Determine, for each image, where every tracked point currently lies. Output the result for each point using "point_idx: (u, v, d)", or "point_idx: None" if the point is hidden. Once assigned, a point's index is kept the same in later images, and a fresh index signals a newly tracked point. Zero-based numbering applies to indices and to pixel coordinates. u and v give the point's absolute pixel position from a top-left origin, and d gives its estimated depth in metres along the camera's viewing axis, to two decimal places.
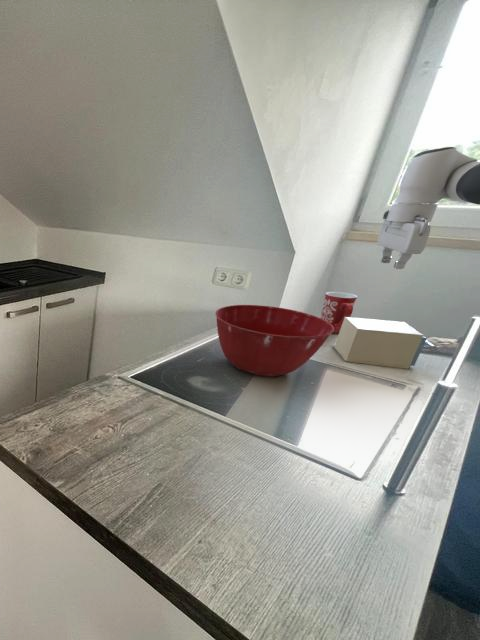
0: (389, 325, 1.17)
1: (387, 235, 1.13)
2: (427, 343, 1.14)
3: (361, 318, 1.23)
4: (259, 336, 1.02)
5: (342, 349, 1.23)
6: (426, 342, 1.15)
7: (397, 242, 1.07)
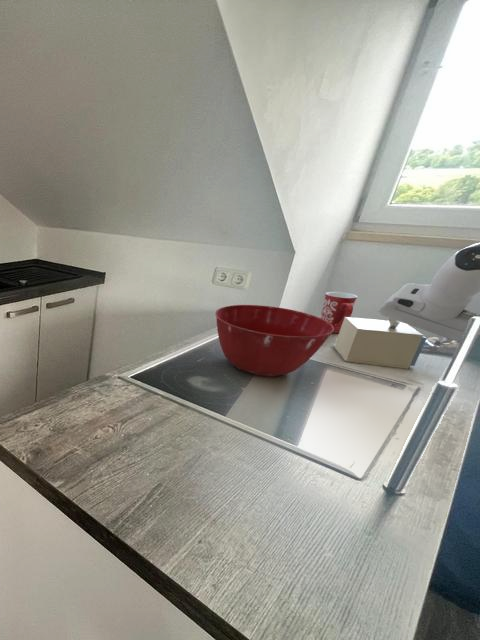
0: (389, 325, 1.17)
1: (406, 314, 1.08)
2: (427, 343, 1.14)
3: (361, 318, 1.23)
4: (259, 336, 1.02)
5: (342, 349, 1.23)
6: (426, 342, 1.15)
7: (440, 330, 1.04)
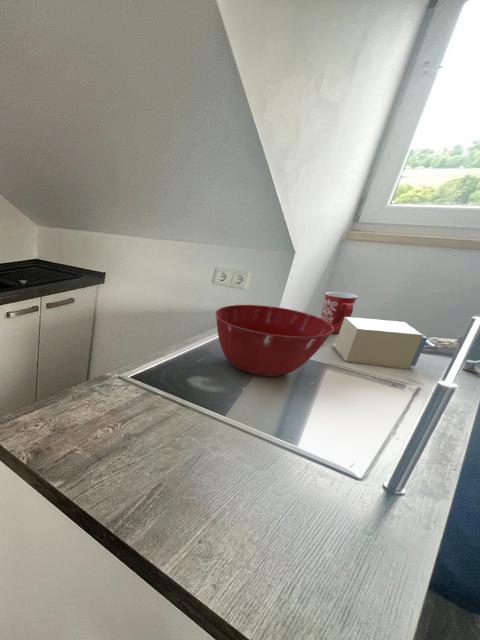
0: (389, 325, 1.17)
1: None
2: (428, 343, 1.14)
3: (361, 318, 1.23)
4: (259, 336, 1.02)
5: (342, 349, 1.23)
6: (427, 342, 1.15)
7: None
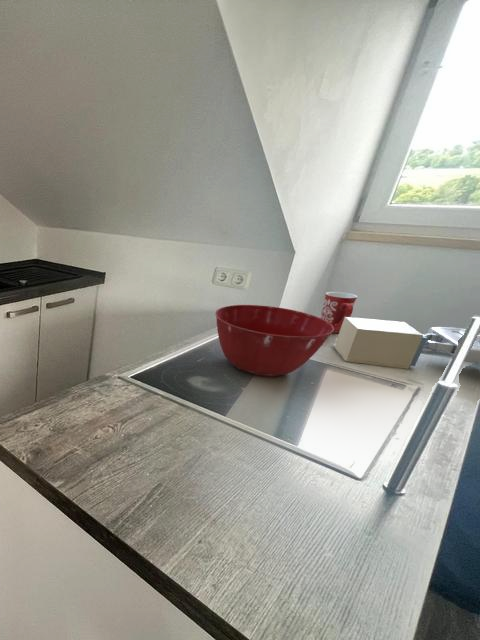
0: (389, 325, 1.17)
1: (453, 333, 1.14)
2: None
3: (361, 318, 1.23)
4: (259, 336, 1.02)
5: (342, 349, 1.23)
6: None
7: None
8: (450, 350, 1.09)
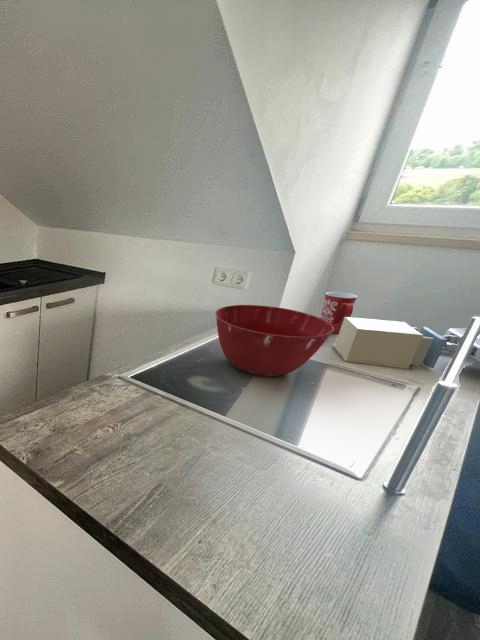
0: (389, 325, 1.17)
1: None
2: None
3: (361, 318, 1.23)
4: (259, 336, 1.02)
5: (342, 349, 1.23)
6: None
7: None
8: (470, 352, 1.07)
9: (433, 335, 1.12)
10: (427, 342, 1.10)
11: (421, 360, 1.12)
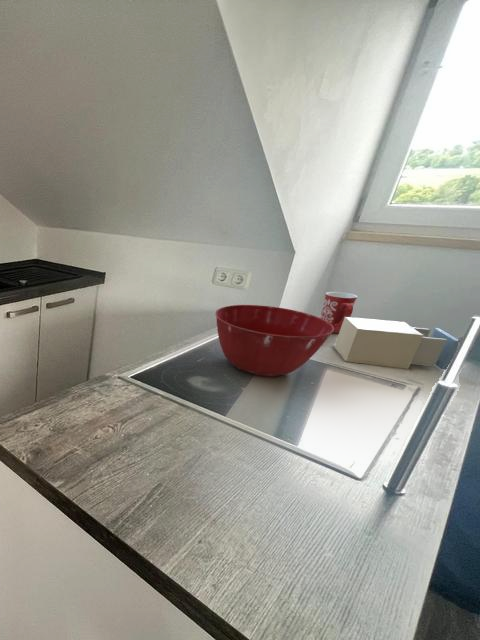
0: (389, 325, 1.17)
1: None
2: None
3: (361, 318, 1.23)
4: (259, 336, 1.02)
5: (342, 349, 1.23)
6: None
7: None
8: None
9: (446, 336, 1.11)
10: (441, 343, 1.09)
11: (434, 362, 1.11)
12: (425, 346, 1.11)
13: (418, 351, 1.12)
